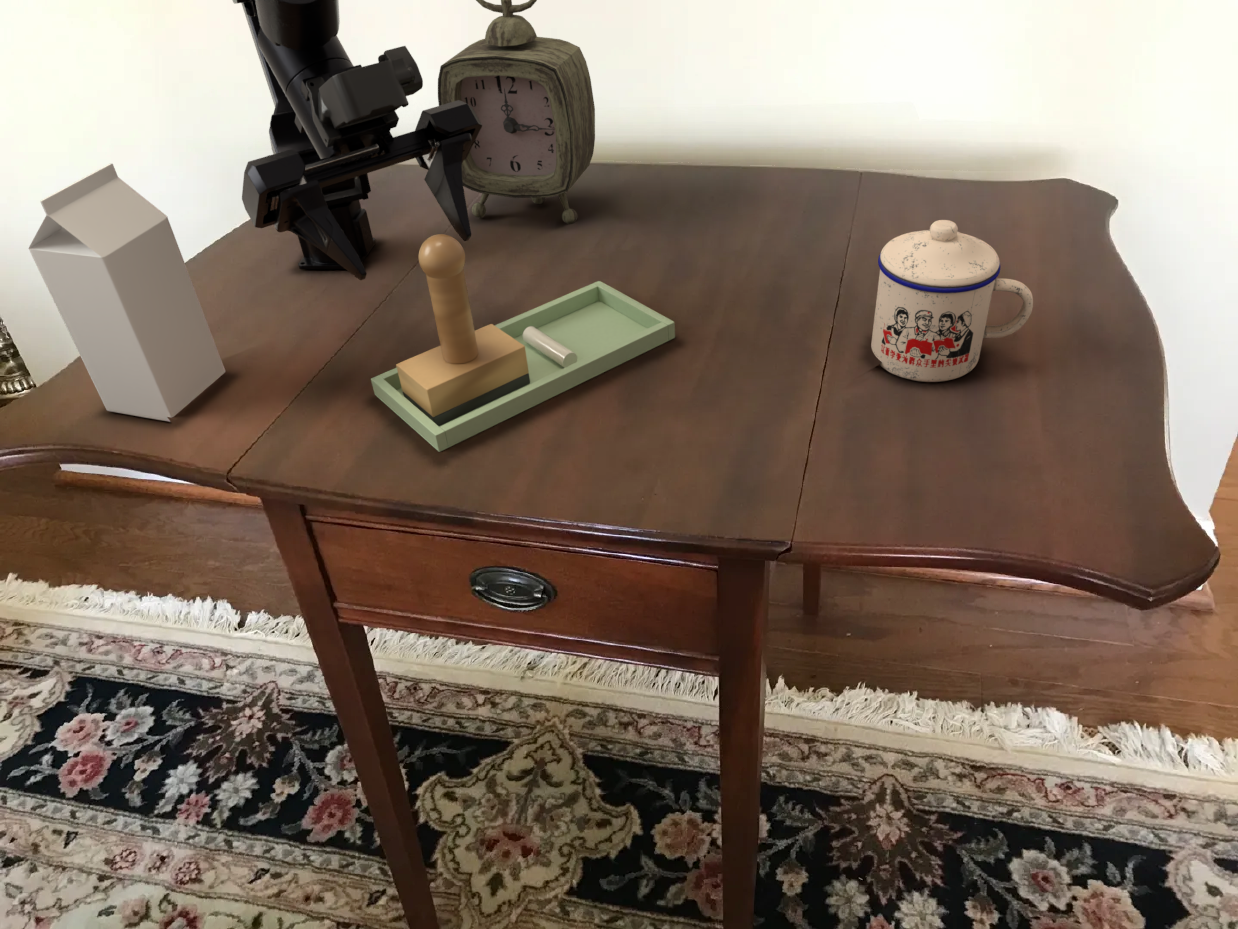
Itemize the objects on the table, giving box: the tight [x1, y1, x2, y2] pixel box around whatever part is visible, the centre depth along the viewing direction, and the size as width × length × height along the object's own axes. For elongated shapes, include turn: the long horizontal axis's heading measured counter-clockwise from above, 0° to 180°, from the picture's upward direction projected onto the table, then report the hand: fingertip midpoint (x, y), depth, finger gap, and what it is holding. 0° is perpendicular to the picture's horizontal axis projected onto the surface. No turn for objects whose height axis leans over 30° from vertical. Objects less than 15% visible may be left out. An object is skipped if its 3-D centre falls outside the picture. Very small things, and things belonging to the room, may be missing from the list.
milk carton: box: [28, 163, 226, 423], centre depth 76 cm, size 7×7×19 cm
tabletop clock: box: [437, 0, 596, 225], centre depth 100 cm, size 14×9×25 cm, turn 73°
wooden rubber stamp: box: [395, 233, 530, 426], centre depth 74 cm, size 9×5×14 cm, turn 128°
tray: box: [370, 280, 676, 453], centre depth 81 cm, size 24×11×2 cm, turn 128°
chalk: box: [523, 326, 577, 368], centre depth 82 cm, size 6×2×2 cm
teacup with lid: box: [870, 219, 1034, 383], centre depth 76 cm, size 12×9×12 cm
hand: (417, 257), depth 74 cm, fingers open, 9 cm apart
